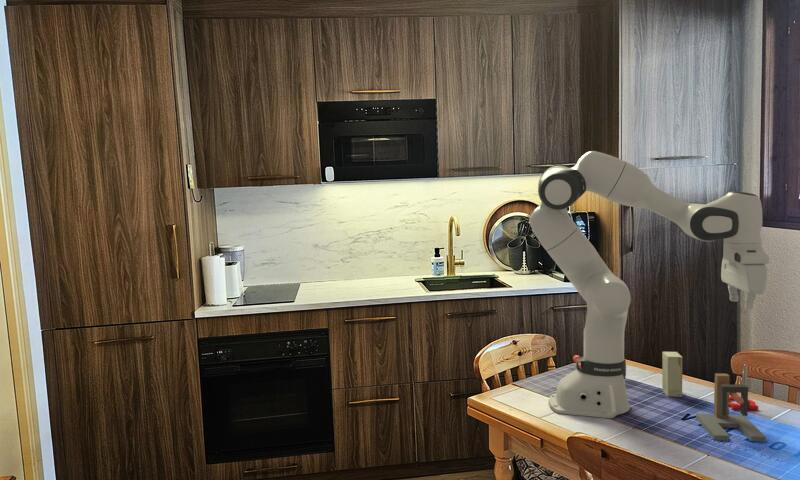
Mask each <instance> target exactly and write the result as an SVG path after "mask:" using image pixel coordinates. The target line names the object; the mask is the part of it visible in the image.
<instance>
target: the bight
mask: <svg viewBox="0 0 800 480" xmlns="http://www.w3.org/2000/svg"><path fill="white" fill-rule="evenodd" d="M727 393H737V394H740V397H741V398H742V399H743V400H744V403H743V404H741V410H740V415H743V416H745V417H748V415H749V414H748V411H749V410H748V399H749V387H748V385H747V386H746V385H742V384H730V383H729V384H720V414H721V415H726V409H727Z"/></svg>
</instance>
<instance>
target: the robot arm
mask: <svg viewBox="0 0 800 480" xmlns="http://www.w3.org/2000/svg"><path fill="white" fill-rule="evenodd" d="M537 191H538V193H537V194H538V196H539V199H540V201H541V203H540V204H539V205H538V206H537V207H536V208H535V209H534V210H533V211H532V212H531V214H530V216H529V226H530V228H531V229H532V232H533V234H534V235H535V236H536V238H537V240H538V241H539V243H540V244H541V246H542V247H543V249H544V250H545V251H546V252H547V254H548V255H549V256H550V257H551V259H552V260H553V261H554V263H555V264H556V265H557V267H558V268H559V269H560V270H561V271H562V272H563V274H564V275H565V277H566V278H567V280H569V281H570V283H571V285H572V286H573V287H574V288H575V290H576V291H577V293H578V294H579V295H580V296H581V298H582V299H583V300H584V301H585V302H586V307H587V308H586V318H585V323H584V328H583V355H582V356H581V357H580V355H579V354H578V355H577V354H575V355H574V356H573V358H572V359H573V362H574V363H575V364H576V365H575V366H576V367H575V369H574V370H573V371H572V372H570V373H568V374H567V375H565V376H563V378H561V379H560V380H559V381H558V383H557V388H556V392H555V393H552V394H550V396H548V406H549V408H550V409H551V410H552V411H553V412H555V413H558V414H563V415H574V416H583V417H595V418H603V419H613V418H615V417H616V416H618V415H622V414H626V413H627V412H629V411H630V410H631V406H630V403H629V400H628V395H627V389H626V381H625V380H626V376H627V363H626V359H625V331H626V324H627V319H628V313H629V308H630V304H631V302H632V301H631V300H632V299H631V292H630V290H629V287H628V285H627V284H626V283H625V282H624V281H623V280H622V279H620V278H619V277H617V276H616V275H615V274H614V273H613V272H612V271H611V270H610V268H609V267H608V266H607V264H606V263H605V261H604V260H603V259H602V256H600V254H599V252H598V251H597V250H596V248H595V246H594V245H593V244H592V243H591V242H590V240H589V239H588V238H587V236H586V235H585V234H584V233H583V231H582V230H581V229H580V228H579V226H578V225H577V224H576V223H575V222H574V219H572V218H571V216H570V214H569V211H568V208H570V207H571V206H572V205H573V204H575V202H577V201H578V200H579V199H580V198H581V197H582V196H583V195H584V194H585V193H586V192H590V193H593V194H597V195H598V196H600V197H602V198H605V199H606V200H609V201H610V202H613V203H617V204H620V205H622V206H626V207H630V208H631V207H632V208H634V207H635V208H641V209H642V208H643V209H645V210H648V211H650V212H653V213H655V214H657V215H659V216H661V217H663V218H664V219H667V220H669V221H670V222H672V223H673V224H674V225H675V226H676V227H677V229H679V231H680V232H681V233H682V234H683V235H685V236H686V237H688V238H691V239H695V240H699V241H702V242H715V241H718V240H723V244H722V245H723V248H722V249H723V251H722V253H723V254H722V255H723V256H722V260H721V269H720V271H721V272H720V277H721V282H722V283H725V284H727V289H728V293H729V300H730V301H731V302H734V303H735V302H737V303H738V301H740V300H739V297H740V295H739V294H738V293H739V292H738V290H741V291H742V292H744V295H745V299H744V300H743V308H744V309H746V310H752V309H753V308H754V302H755V300H756V297H757V295H762V294H764V292H765V291H766V287H767V275H768V274H767V273H768V272H767V271H768V270H767V265H768V264H769V262H770V257H769V255H768V254H767V253H766V251H764V248H763V240H762V237H761V236H762V235H761V231H762V228H763V206H762V201H761V198H760V197H759V196H758V195H757V194H754V193H750V192H744V191H738V190H736V191H735V190H733V191H729V192H727V193H726V194H725V195H723V196H722V197H720V198H718V199H715V200H713V201H711V202H708V203H706V204H705V203H704V202H692V201H691V202H689V201H685V200H682V199H680V198H677V197H675V196H673V195H672V194H669V193H667V192H665V191H663V190H661V189H659V188H658V187H657V186H655V184H653V182H652V181H651V178H650V176H649V175H648V174H647V173H645V172H644V171H643V170H641V169H640V168H638V167H637V166H636V165H634V164H631V163H630V162H627V161H625V160H624V159H621V158H618V157H616V156H613V155H611V154H607V153H604V152H600V151H596V150H590V151H587V152H585V153H584V154H583V155H581V156H580V158H579V159H578V160H577V162H576V164H575V165H574V166H573V167H572V166H571V167H569V166H568V165H565V164H554V165H552V166H549V167H548V168H547V169H546V170H544V172H543V173H542V174H541V176H540V178H539V180H538V188H537Z"/></svg>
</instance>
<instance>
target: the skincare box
mask: <svg viewBox="0 0 800 480" xmlns="http://www.w3.org/2000/svg"><path fill="white" fill-rule="evenodd" d="M661 355H662V358H661V359H662V360H661V361H662V362H661V363H662V370H661V371H662V377H661V378H662V383H661V384H662V387H661V389H662V392H663V393H664V394H665V395H666V396H667V397H681V398H682V397H683V356H682V355H681V354H680V353H679V352H678V351H662V354H661Z"/></svg>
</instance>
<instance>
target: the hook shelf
mask: <svg viewBox="0 0 800 480" xmlns="http://www.w3.org/2000/svg"><path fill="white" fill-rule="evenodd" d="M730 379H731V378H730V375H729V374H728V373H716V372H715V373H714V389H713V390H714V391H713V392H714V393H713V395H714V399H713V413H695V419H696V420H697V421H698V423H699V424H700V425H701V426H702V427H703V428H704V430H705V431H706V432H707V433H708V435H709V436H710V437H711V438H712V439H713V440H715V441H730V434H728V432H727V431H726V430H725V428H729V429H730V428H731V429H738V430H739V431H740V432H741V433H742V434H743V435H744V436H745V437H746V436H747V437H748V438H747V437H746V438H747V439H749V441H751V442H764V441H766V442H767V436H766V435H765V434H764V433H763V432H762V430H760V429H759V428H758V427H756V426H755V424H753V422H751V421H750V419H748V418H747V416H743V415H742V414H730V413H729V411H730V406H729V402H730V401H729V397H732V398H733V399H734V400H735V401H734V402H736V404H738V405H739V404H743V403H744V400H743V399H742V398H741V395H739V393H727V409H726V415H721V414H720V384H729V385H730Z"/></svg>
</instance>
